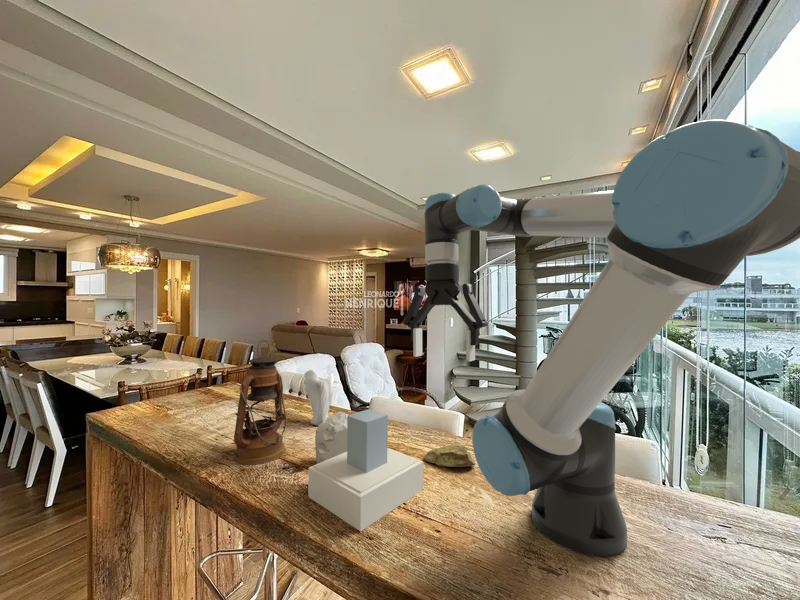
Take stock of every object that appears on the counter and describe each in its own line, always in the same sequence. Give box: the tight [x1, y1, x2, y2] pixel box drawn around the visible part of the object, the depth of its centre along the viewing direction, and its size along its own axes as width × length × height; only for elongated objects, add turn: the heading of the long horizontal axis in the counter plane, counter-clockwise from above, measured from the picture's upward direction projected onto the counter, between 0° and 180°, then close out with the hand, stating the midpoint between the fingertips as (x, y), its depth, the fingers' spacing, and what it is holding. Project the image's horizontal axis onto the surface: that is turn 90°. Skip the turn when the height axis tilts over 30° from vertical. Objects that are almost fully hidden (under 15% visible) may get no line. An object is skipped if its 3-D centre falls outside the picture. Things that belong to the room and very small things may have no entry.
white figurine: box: [303, 369, 335, 426], centre depth 113 cm, size 8×8×18 cm
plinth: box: [307, 447, 424, 532], centre depth 72 cm, size 16×18×6 cm
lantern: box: [232, 340, 288, 466], centre depth 90 cm, size 17×13×30 cm
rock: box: [424, 444, 476, 468], centre depth 87 cm, size 12×7×10 cm
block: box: [347, 409, 389, 473], centre depth 72 cm, size 6×6×10 cm
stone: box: [315, 411, 349, 464], centre depth 87 cm, size 10×5×12 cm, turn 122°
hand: (443, 358), depth 76 cm, fingers open, 13 cm apart
